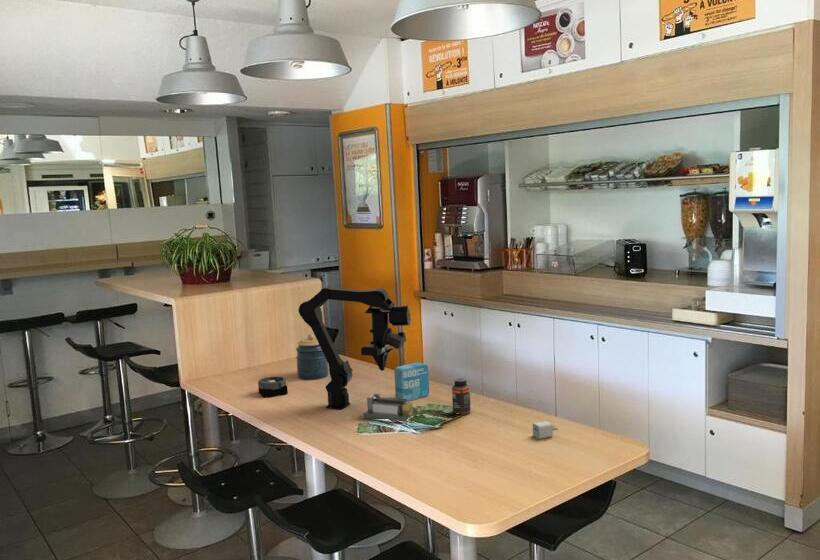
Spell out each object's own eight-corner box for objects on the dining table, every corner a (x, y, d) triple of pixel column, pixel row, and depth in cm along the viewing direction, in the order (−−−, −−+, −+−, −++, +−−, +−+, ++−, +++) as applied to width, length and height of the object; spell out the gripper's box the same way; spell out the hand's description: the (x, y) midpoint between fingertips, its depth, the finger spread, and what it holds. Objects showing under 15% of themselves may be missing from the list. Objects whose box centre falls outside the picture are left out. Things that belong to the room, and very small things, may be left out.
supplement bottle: (473, 410, 238) (472, 377, 236) (467, 416, 232) (465, 382, 231) (456, 409, 240) (455, 376, 239) (450, 414, 235) (448, 381, 233)
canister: (333, 372, 298) (331, 330, 296) (322, 380, 286) (320, 337, 284) (304, 371, 301) (301, 330, 299) (292, 379, 289) (289, 337, 286)
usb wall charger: (532, 435, 212) (532, 422, 211) (552, 432, 214) (552, 419, 213) (539, 439, 208) (539, 426, 207) (560, 436, 210) (559, 423, 210)
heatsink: (363, 419, 234) (362, 399, 233) (377, 410, 243) (376, 391, 242) (404, 423, 228) (403, 403, 227) (417, 414, 236) (416, 395, 236)
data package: (402, 402, 251) (401, 369, 249) (395, 399, 254) (393, 367, 253) (429, 396, 257) (428, 363, 256) (422, 393, 261) (421, 361, 260)
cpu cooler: (255, 378, 271) (281, 374, 276) (256, 393, 272) (282, 388, 276) (262, 384, 262) (289, 380, 266) (263, 399, 263) (290, 395, 267)
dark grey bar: (369, 402, 236) (369, 397, 236) (373, 400, 239) (373, 395, 239) (404, 404, 231) (403, 399, 231) (407, 402, 233) (407, 397, 233)
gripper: (389, 332, 231) (391, 378, 233) (412, 321, 248) (414, 365, 250) (359, 330, 236) (361, 376, 238) (384, 320, 252) (386, 363, 254)
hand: (382, 370), depth 245 cm, fingers closed
